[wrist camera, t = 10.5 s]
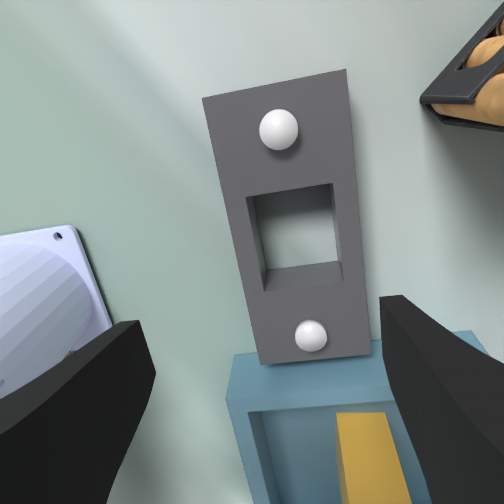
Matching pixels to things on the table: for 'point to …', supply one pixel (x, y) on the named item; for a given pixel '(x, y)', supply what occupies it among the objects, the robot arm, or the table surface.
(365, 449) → the block
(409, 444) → the parts tray
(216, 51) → the table surface
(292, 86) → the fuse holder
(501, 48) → the ammunition clip
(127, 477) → the table surface
